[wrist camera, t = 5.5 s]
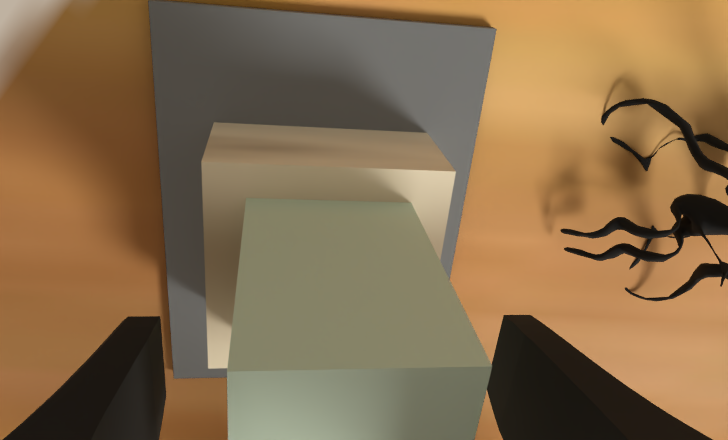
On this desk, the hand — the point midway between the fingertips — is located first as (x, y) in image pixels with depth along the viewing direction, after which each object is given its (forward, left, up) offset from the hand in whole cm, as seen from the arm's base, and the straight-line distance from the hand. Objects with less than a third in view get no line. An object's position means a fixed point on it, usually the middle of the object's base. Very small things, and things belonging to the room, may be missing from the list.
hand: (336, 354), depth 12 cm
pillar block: (0, 0, -3) cm, 3 cm away
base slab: (0, 0, -6) cm, 6 cm away
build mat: (0, 0, -6) cm, 6 cm away
